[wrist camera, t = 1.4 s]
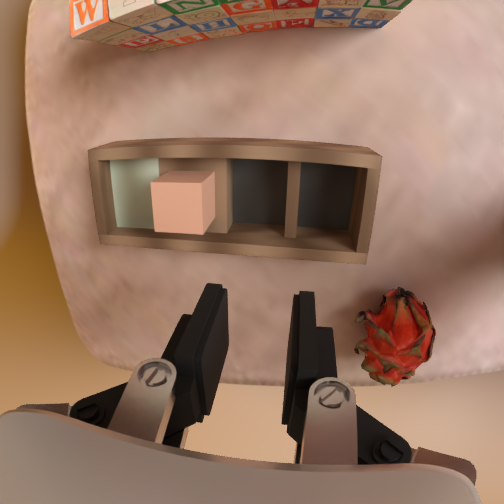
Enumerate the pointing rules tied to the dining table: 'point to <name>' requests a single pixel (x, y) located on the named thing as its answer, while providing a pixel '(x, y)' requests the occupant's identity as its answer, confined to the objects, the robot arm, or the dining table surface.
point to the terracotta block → (183, 201)
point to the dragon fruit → (396, 337)
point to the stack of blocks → (214, 18)
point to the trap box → (244, 196)
